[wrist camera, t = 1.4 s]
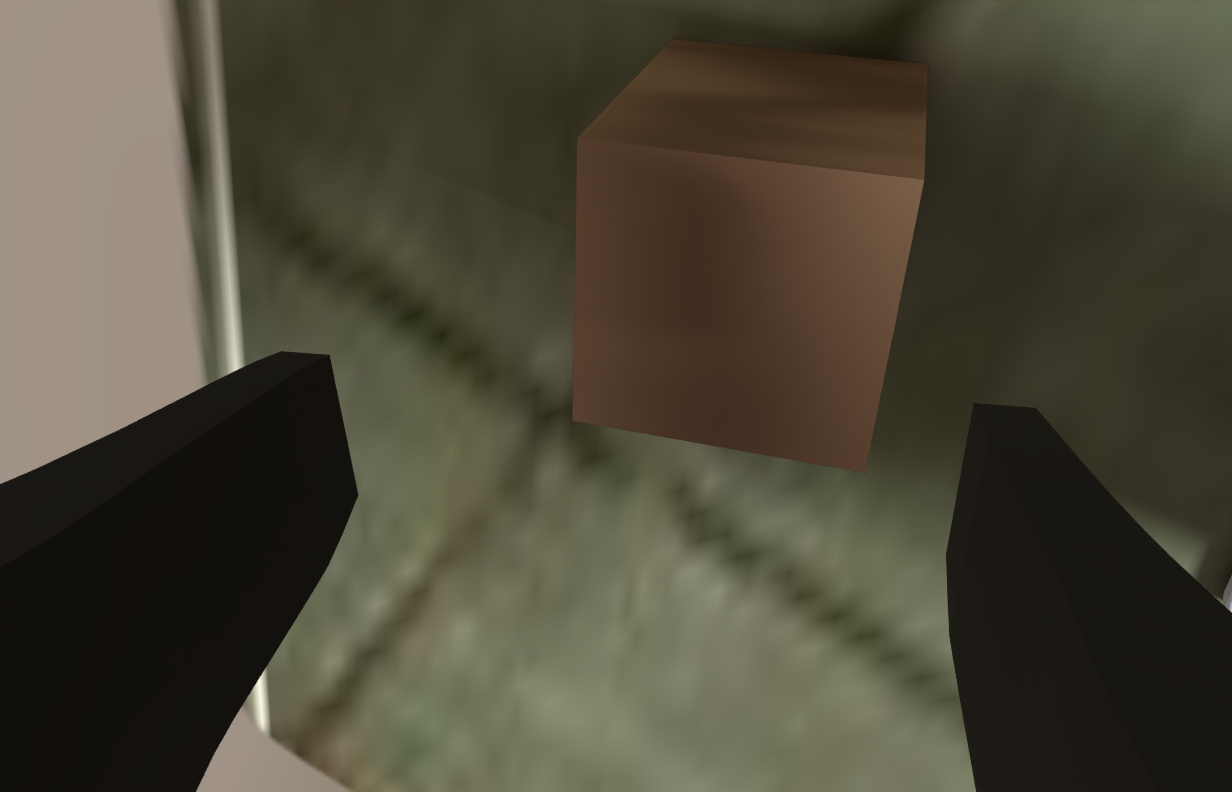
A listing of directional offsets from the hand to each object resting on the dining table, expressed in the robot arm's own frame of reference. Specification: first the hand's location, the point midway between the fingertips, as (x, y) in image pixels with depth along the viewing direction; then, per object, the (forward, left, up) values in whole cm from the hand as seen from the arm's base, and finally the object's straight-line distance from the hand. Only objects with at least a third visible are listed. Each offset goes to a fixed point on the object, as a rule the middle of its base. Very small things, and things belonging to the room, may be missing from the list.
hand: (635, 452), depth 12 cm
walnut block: (0, 0, -10) cm, 10 cm away
